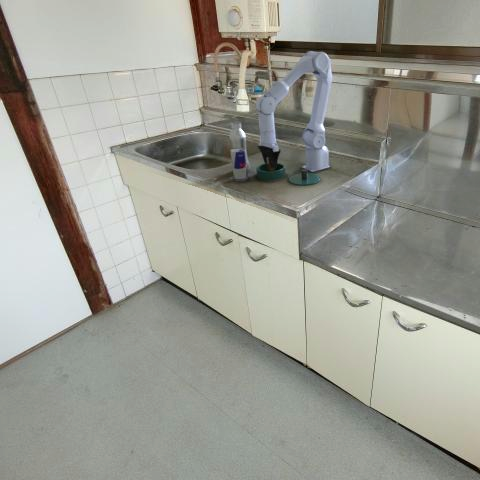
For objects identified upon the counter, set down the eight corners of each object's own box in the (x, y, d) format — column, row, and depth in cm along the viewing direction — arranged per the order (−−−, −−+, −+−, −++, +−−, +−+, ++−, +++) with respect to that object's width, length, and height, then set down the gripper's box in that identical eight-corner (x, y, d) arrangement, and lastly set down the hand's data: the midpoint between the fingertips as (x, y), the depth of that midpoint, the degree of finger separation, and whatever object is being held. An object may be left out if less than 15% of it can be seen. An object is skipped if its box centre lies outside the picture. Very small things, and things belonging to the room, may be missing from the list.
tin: (275, 169, 153) (274, 160, 150) (290, 176, 145) (290, 167, 143) (252, 176, 146) (251, 166, 144) (267, 183, 139) (266, 174, 137)
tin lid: (307, 173, 148) (307, 162, 146) (326, 181, 140) (326, 170, 138) (283, 180, 142) (282, 169, 139) (301, 189, 133) (301, 178, 131)
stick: (267, 175, 146) (266, 157, 142) (272, 174, 147) (271, 156, 143) (270, 177, 144) (268, 158, 140) (275, 175, 145) (273, 157, 141)
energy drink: (246, 182, 141) (242, 152, 135) (233, 182, 141) (228, 152, 135) (249, 177, 145) (245, 147, 139) (236, 177, 146) (231, 148, 139)
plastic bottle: (253, 171, 151) (248, 122, 141) (240, 175, 147) (233, 125, 137) (244, 168, 155) (238, 120, 145) (231, 172, 151) (224, 123, 141)
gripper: (250, 127, 140) (254, 161, 147) (264, 136, 129) (268, 172, 136) (267, 125, 143) (270, 158, 150) (282, 133, 132) (285, 168, 139)
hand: (270, 165), depth 143 cm, fingers open, 6 cm apart
